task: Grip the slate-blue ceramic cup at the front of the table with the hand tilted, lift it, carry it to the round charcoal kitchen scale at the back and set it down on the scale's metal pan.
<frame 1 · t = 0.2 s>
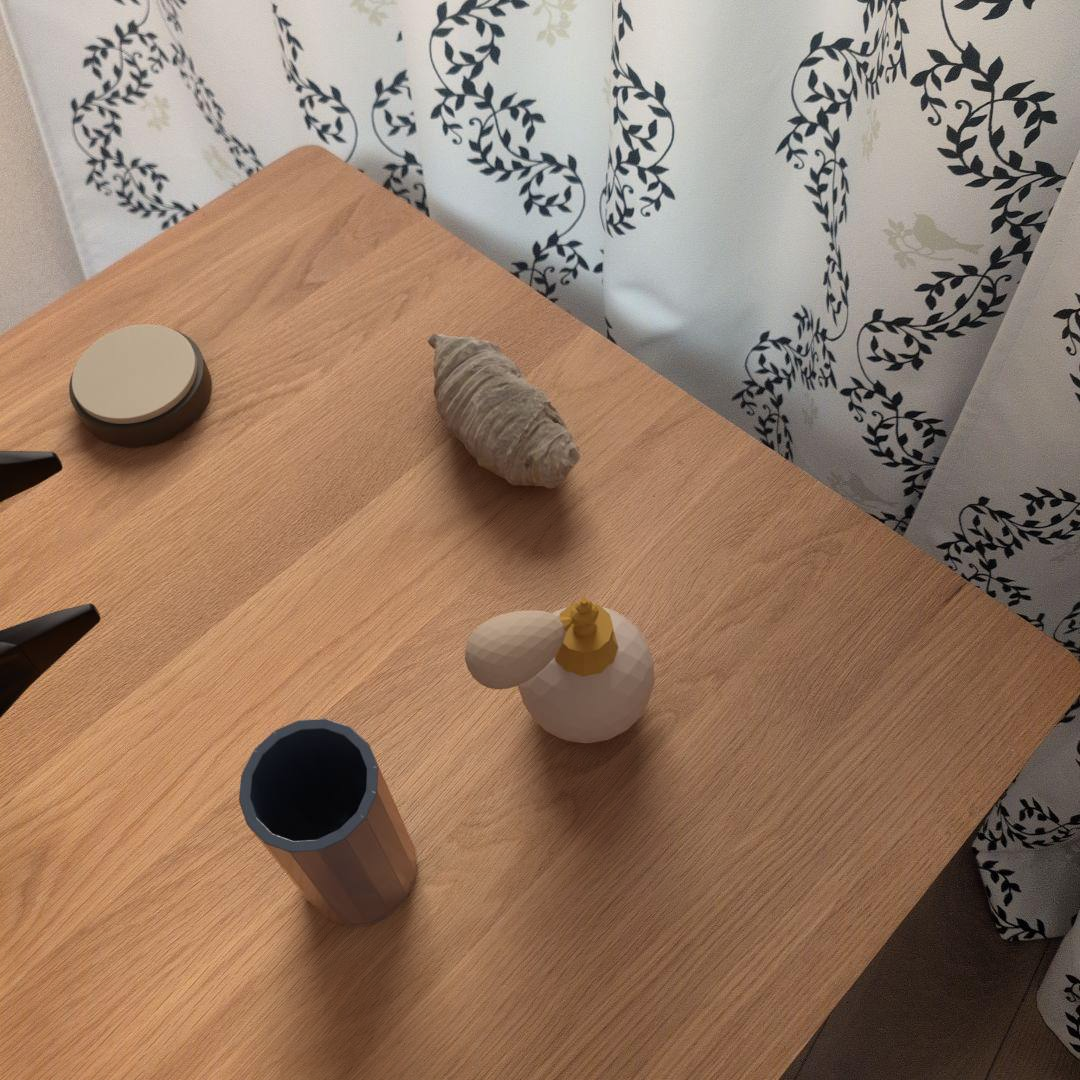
hand: (77, 532, 54), 16 cm above the table, tool horizontal, fingers open, 9 cm apart
perfume bottle: (573, 714, 65), on the table
scale: (146, 394, 79), on the table
cup: (360, 868, 61), on the table
taro root: (495, 437, 76), on the table
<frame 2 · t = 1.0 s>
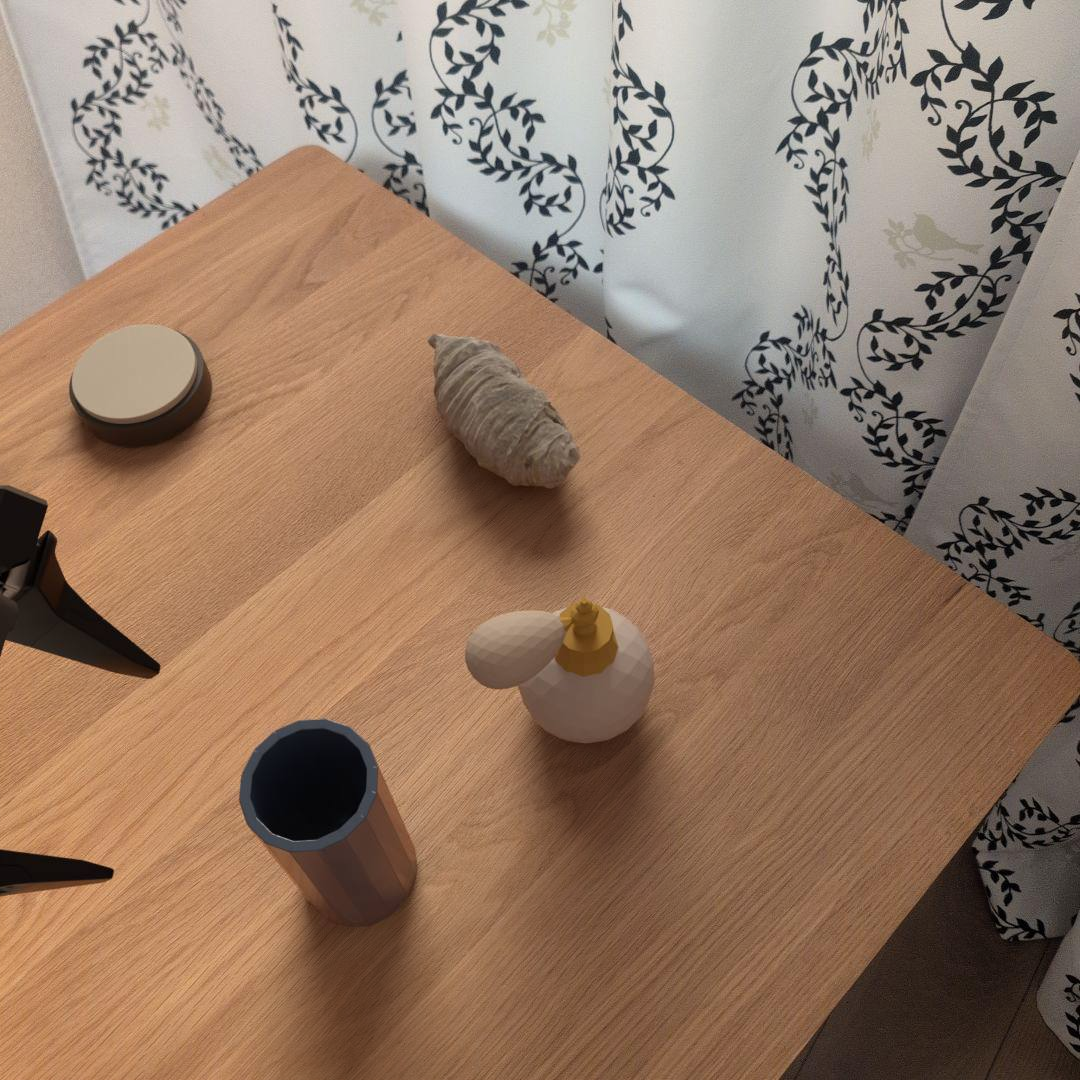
hand: (134, 769, 50), 14 cm above the table, tool tilted 45°, fingers open, 9 cm apart
nothing on the table moved.
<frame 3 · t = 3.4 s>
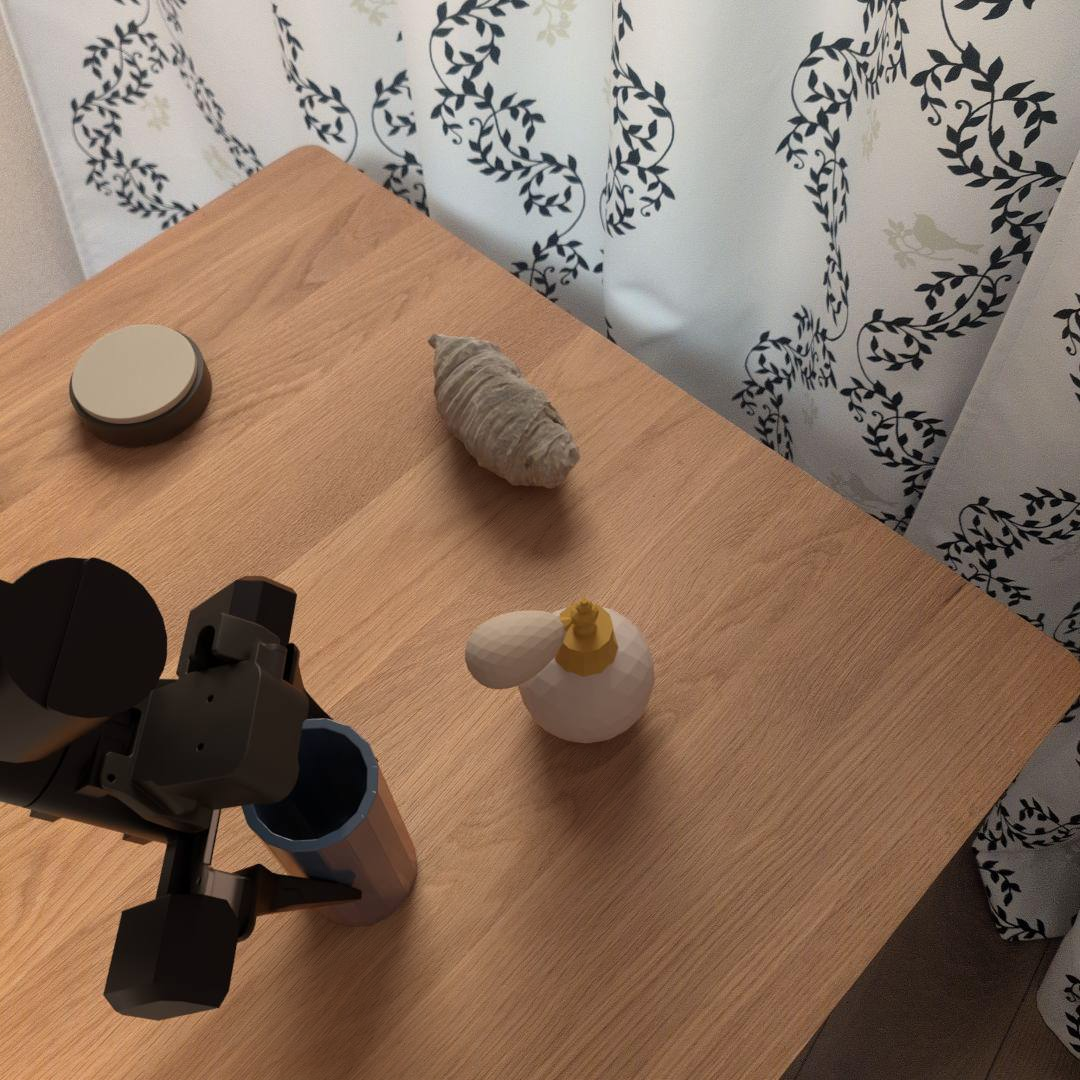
hand: (365, 830, 55), 7 cm above the table, tool tilted 45°, fingers closed on cup, 6 cm apart
cup: (360, 868, 61), on the table, touching gripper
everything else where it was.
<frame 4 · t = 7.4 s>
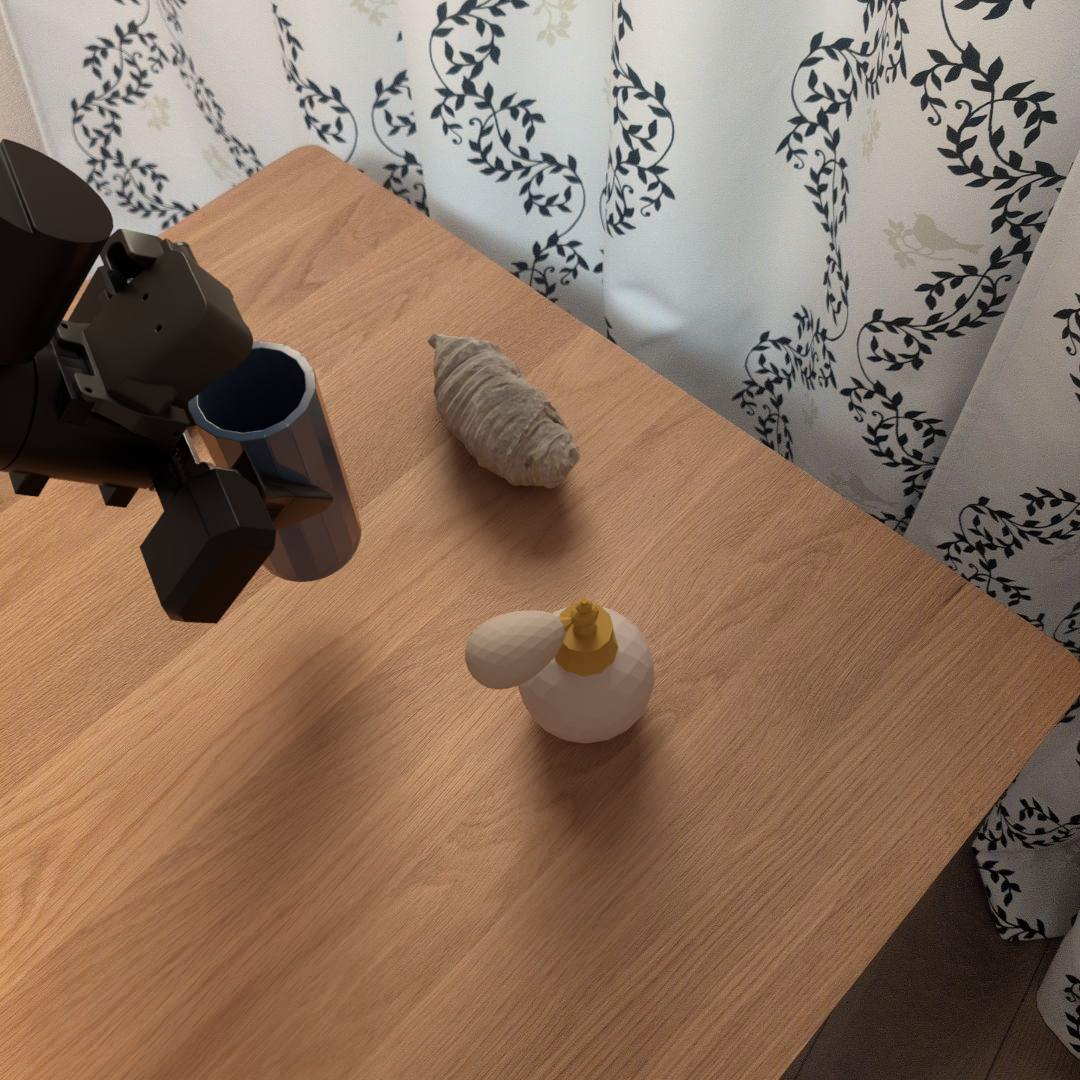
hand: (306, 458, 60), 12 cm above the table, tool tilted 45°, fingers closed on cup, 6 cm apart
cup: (308, 536, 65), point 6 cm above the table, touching gripper
everything else where it was.
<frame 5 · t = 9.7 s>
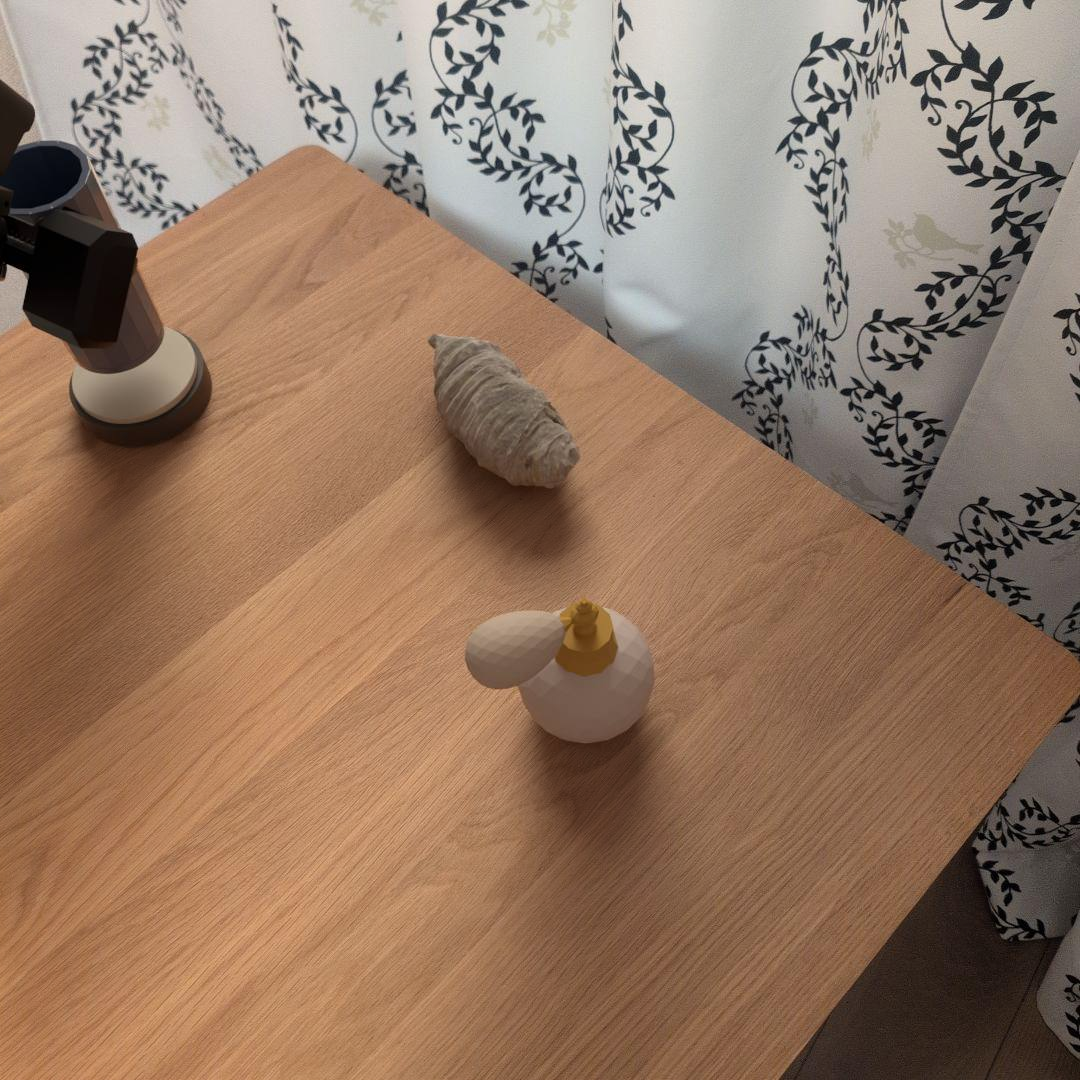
hand: (94, 248, 69), 12 cm above the table, tool tilted 45°, fingers closed on cup, 6 cm apart
cup: (117, 338, 74), point 6 cm above the table, touching gripper
everything else where it was.
when the fingers open (9 cm above the table, at t = 11.4 s): cup stays where it is, resting on scale.
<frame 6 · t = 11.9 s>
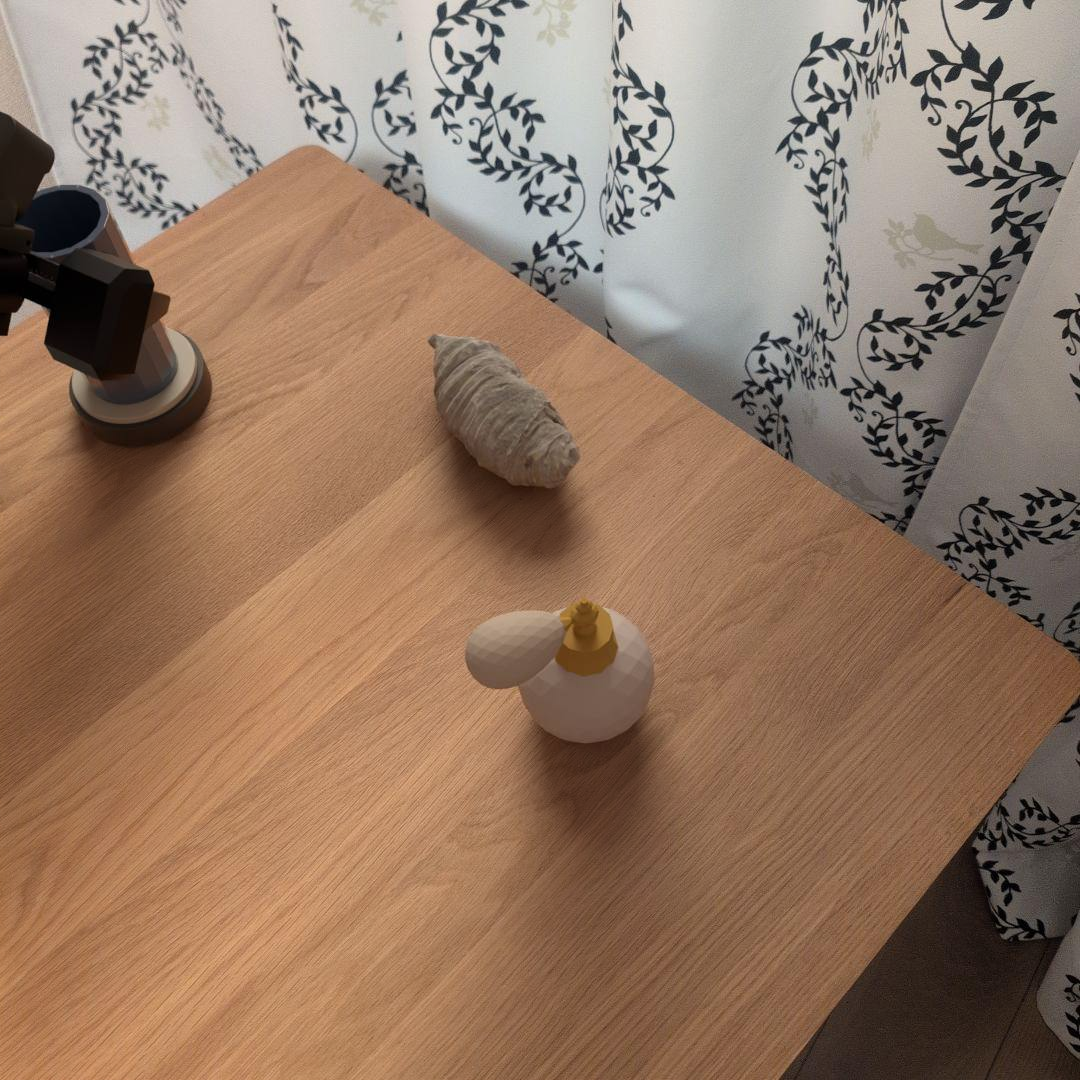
hand: (109, 279, 71), 10 cm above the table, tool tilted 45°, fingers open, 9 cm apart
cup: (133, 369, 77), point 3 cm above the table, touching scale
everything else where it was.
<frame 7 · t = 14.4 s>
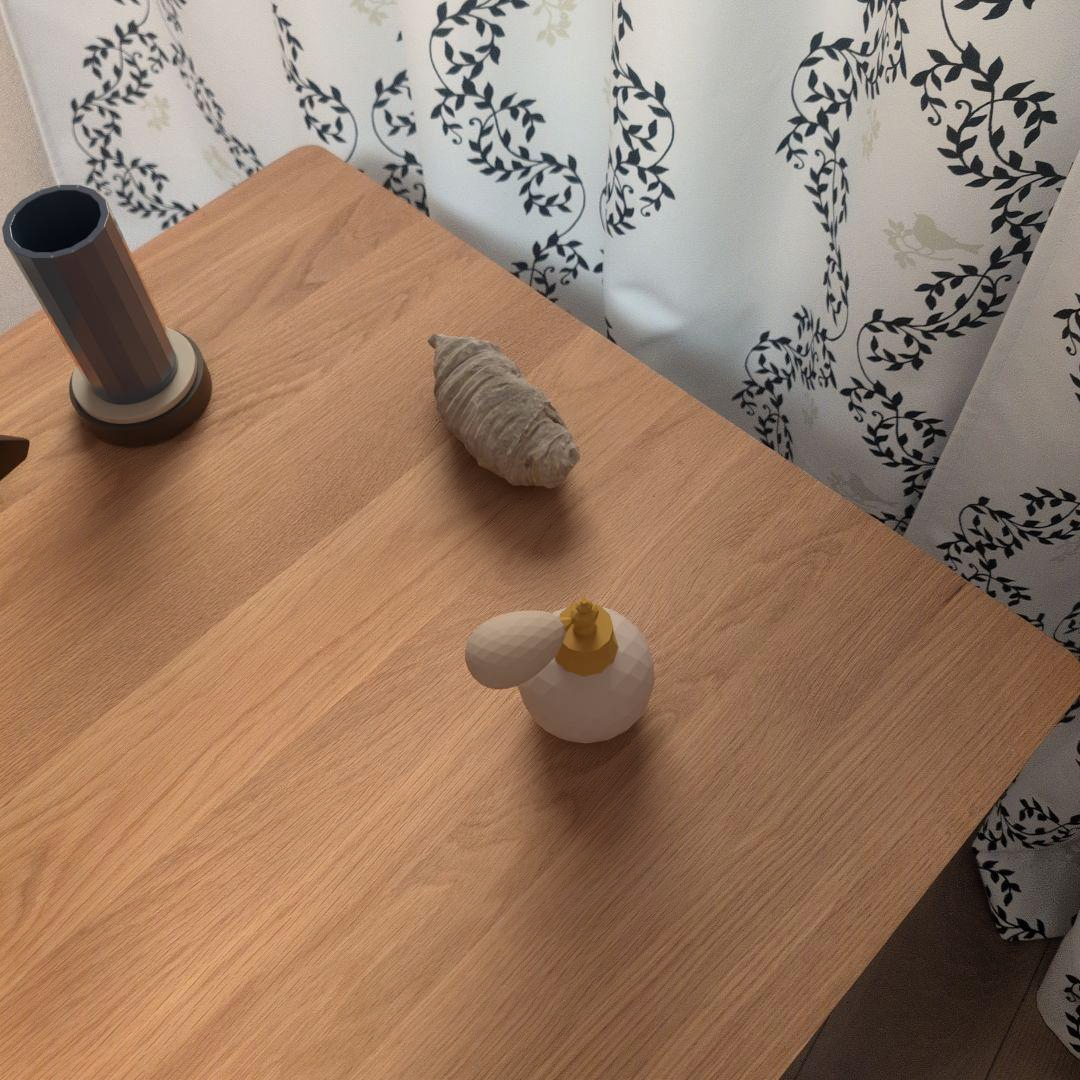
nothing on the table moved.
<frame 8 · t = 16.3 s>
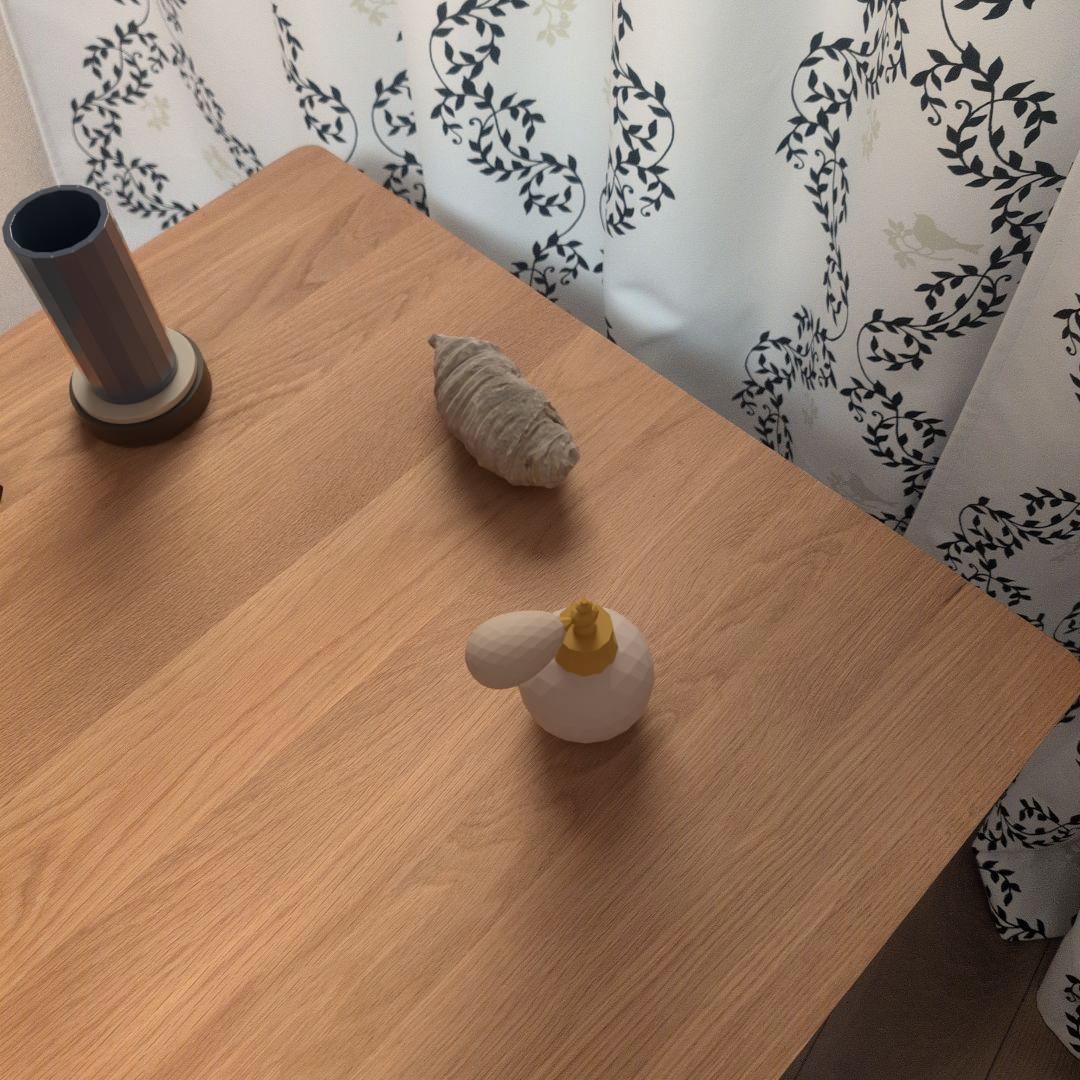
nothing on the table moved.
at the end: cup 0.0 cm off-centre on the scale, point 2.6 cm above the scale's base; cup tilted 0°; the gripper is holding nothing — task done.
